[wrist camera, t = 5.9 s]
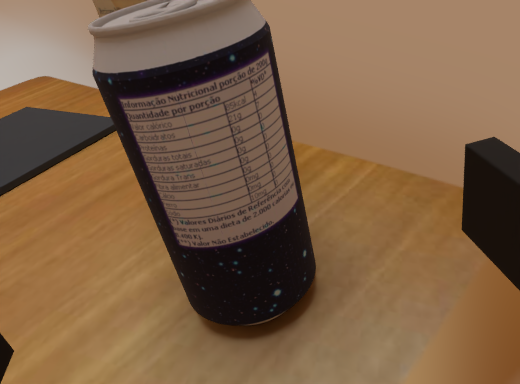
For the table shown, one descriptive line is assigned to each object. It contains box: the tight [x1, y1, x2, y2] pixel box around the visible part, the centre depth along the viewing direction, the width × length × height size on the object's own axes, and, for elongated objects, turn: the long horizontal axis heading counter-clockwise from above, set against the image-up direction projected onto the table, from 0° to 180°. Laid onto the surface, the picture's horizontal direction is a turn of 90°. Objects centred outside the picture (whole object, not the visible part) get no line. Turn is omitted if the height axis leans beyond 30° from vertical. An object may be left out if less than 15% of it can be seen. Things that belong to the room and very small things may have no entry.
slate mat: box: [0, 107, 116, 195], centre depth 43 cm, size 20×14×1 cm
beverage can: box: [88, 0, 316, 325], centre depth 16 cm, size 6×6×12 cm
